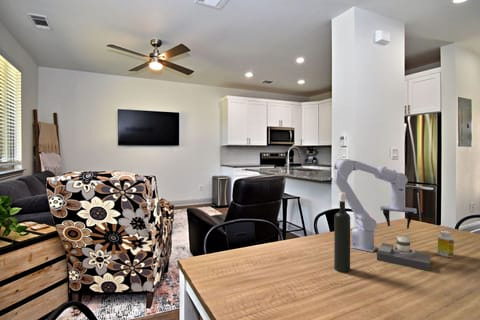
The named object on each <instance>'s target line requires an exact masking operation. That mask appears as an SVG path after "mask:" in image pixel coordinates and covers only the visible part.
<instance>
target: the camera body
mask: <svg viewBox="0 0 480 320" xmlns="http://www.w3.org/2000/svg"><path fill="white" fill-rule="evenodd" d="M393 247H395V245H394V244H392V243H386V242H382V243H381V245H380V246H379V248H378V250H377V252H376V260H377V261H379V262H380V261H381V262H384V263H388V264H394V265H398V266H402V265H403V266H404V267H407V268H412V269H416V270H422V271H426V272H430V270H431V261H432V260H431V258H432V254H431V253H427V252H421V251H416V250H414V251H415V256H414V257H403V256H399V255H396V254H394V253H393Z"/></svg>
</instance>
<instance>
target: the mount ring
mask: <svg viewBox="0 0 480 320" xmlns="http://www.w3.org/2000/svg"><path fill="white" fill-rule="evenodd" d="M415 251H416V250H414V249H412V248H410V253H405V252H400V251H397V246H394V247H393V253H394V254H396V255H399V256H403V257H414V256H415Z"/></svg>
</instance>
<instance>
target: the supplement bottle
mask: <svg viewBox="0 0 480 320" xmlns="http://www.w3.org/2000/svg"><path fill="white" fill-rule="evenodd" d="M454 243H455V238H454V237H453V235H452V232H451V231H448V230H441V231H440V232H439V235H437V254H438V255H439V256H442V257H446V258H452V257H454V253H455V252H454V250H455V249H454V248H455V245H454Z"/></svg>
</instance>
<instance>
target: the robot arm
mask: <svg viewBox="0 0 480 320" xmlns="http://www.w3.org/2000/svg"><path fill="white" fill-rule="evenodd" d="M353 171H362V172H365V173H369V174H371V175H374V177H375V178H376V179H378V180H381V181H384V182H387V183H390V205H380V210H379V211H382V214H383V215H384V218H385V220H386V223H387V227H391V221H390V213H391V212H397V213H398V212H399V213H406V215H407V217H406V218H407V222H406V229H408V230H409V229H410V224H411V222H412V219H413V218H414V216H415V214H418V213H417V211H418V210H417V208H413V207H406V185H407V183H408V182H409V179H408V177H407V176H406V174H405V173H403V172H397V170H395V169H393V170H392V169H389V168H387V166H384V165H382V166H378V167H374V166H371V165H369V164H367V163H364V162H360V161H357V160H351V159H349V158H348V159H347V158H346V159H344V158H339V159H338V160H336V161H335V163H334V165H333V174H334V175H333V180H334V183H335V184H336V186H337V188H338V190H339V191H340V192H345V202H346V203H347V204H348V206H349V208H350V209H351V211H352V212H353V215H354V216H353V217H354V219H355V223H356V225H357V227H353V228H352V230H351V246H350V249H355V250H359V251H365V252H370V253H374V251H375V250H376V248H377V246H376V245H375V230H376V228H377V221H376V220H375V219H374V218H373V217H371V216H370V214H369V213H368V212H367V211H366V209H365V208H364V206H363V204H362V203H361V201H360V200H359V199H358V197H357V195H356V194H355V192H354V190H353V189H352V187H351V185H350V184H349V182H348V179H349V177H350V175H351V173H352V172H353Z"/></svg>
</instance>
